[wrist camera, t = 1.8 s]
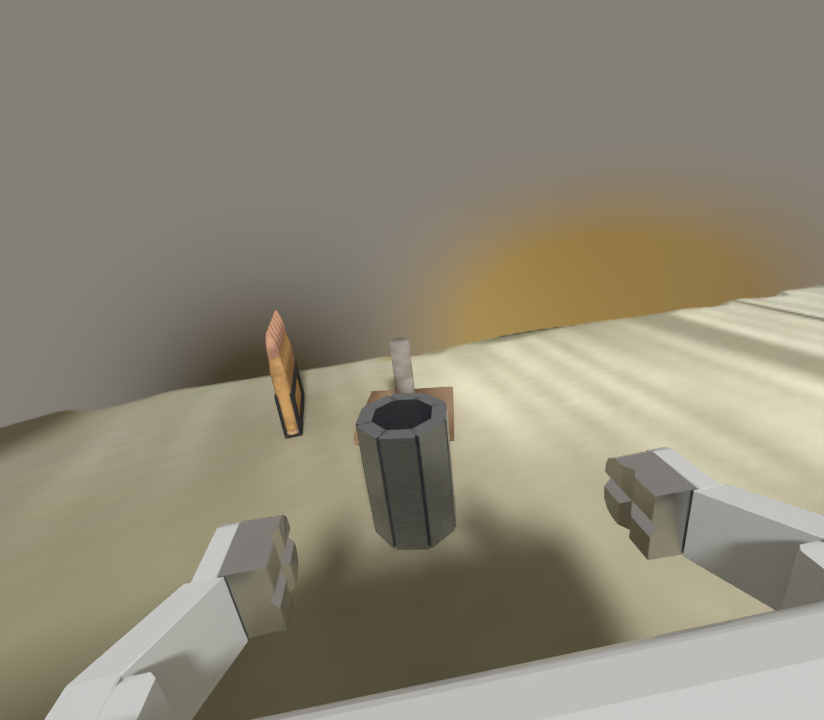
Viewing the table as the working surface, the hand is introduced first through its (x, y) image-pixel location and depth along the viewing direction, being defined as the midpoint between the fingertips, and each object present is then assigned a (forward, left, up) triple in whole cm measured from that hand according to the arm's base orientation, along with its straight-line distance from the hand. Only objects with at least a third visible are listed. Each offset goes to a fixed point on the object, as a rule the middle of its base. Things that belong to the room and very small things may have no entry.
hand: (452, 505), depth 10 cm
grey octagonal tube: (-4, +15, -15) cm, 22 cm away
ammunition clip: (-20, +32, -15) cm, 41 cm away
